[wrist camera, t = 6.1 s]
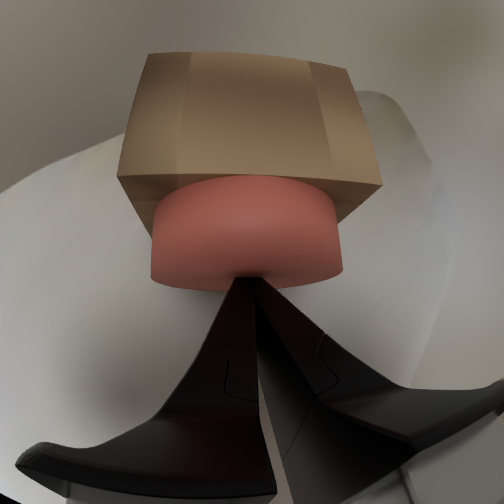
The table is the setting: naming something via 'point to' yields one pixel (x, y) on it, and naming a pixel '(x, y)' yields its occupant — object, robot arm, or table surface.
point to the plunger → (245, 234)
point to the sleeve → (245, 127)
